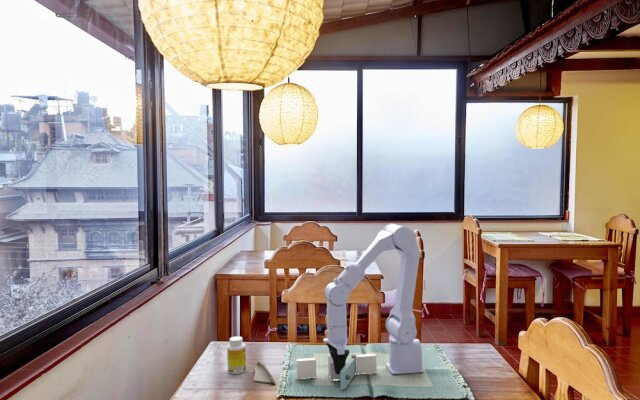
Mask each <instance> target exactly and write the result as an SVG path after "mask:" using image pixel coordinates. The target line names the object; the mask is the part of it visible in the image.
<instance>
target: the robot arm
mask: <svg viewBox="0 0 640 400" xmlns="http://www.w3.org/2000/svg"><path fill="white" fill-rule="evenodd" d="M391 250H392V251H393V250H396V251H397V253H398V254H399V255H400V263H399V271H398V276H397V277H398V279H397V284H396V285H397V286H396V292H395V299H394V306H393V307H392V308H391V309H390V312H389V316H388V317H387V319H386V320H385V329H386V330H387V332H388V333H389V337H388V347H389V348H388V349H389V351H388V354H389V357H388V359H389V362H385V366H387V368H388V370H389V372H390V374H392V375H402V374H413V373H414V374H415V373H423V371H424V370H423V352H422V351H423V350H422V345H421V341H420V339H419V338H416V337H417V333H418V331H417V327H416V317H415V313H414V311H413V307H414V306H413V305H414V299H415V291H416V284H417V278H418V271H419V270H418V269H419V263H420V255H421V251H420V248H419V245H418V242H417V235H416V233H415V232H414V231H413V230H412V229H411V228H409V227H408V226H405V225H404V226H403V225H398V224H396V223H388V224H387V225H385V226H384V227H383V229H382V230H380V231H379V232H378V233H377V235H376V237H375V238H374V239H373V241H372V242H371V244H370V245H369V246H368V247H367V248H366V249H365V251H364V252H363V254H362V255H361V256H360V257H359V259H357V261H356V262H350V263H349V264H345V265H344V267H343V270H342V271H341V272H340V274H339V275H338V276H337V277H335V278H334V279H333V281H332V282H330V283H328V284H327V285H326V287H325V288H324V289H325V290H324V291H323V295H324V297H325V298H326V329H327V338H326V337H325V338H323V343H324V344H326V346H327V348H328V351H329V354H330V357H332V359H333V363H334V369H335V372H336V374H340V371H341V370H342V369H343V367H344V366H345V362H346V361H347V359H348V356H349V355H350V350H349V349H345V347H346V345H348V341H349V339H348V325H347V323H348V322H347V303H348V301H349V298H350V294H351V292H352V291H353V290H354V289H355V288H356V287H357V286H358V285H359V284H360V282H361V281H363V279H364V278H365V276H366V270H367V269H368V267H370V266H371V264H373V263H374V261H376V259H377V258H378V257H380V255H382V253H383V252H385V251H391ZM346 363H347V362H346Z"/></svg>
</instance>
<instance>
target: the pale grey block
mask: <svg viewBox="0 0 640 400" xmlns="http://www.w3.org/2000/svg"><path fill="white" fill-rule="evenodd" d="M327 363H328V364H327V366H328V370H327V371H328V373H329V374H328V377H329V376H330V378H329V380H330V379H331V380H333V379H340V374H336V372H335V369H334V363H333V359H332V357H331V356H328V358H327ZM346 363H347V362H345V365H346Z"/></svg>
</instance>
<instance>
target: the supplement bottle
mask: <svg viewBox="0 0 640 400" xmlns="http://www.w3.org/2000/svg"><path fill="white" fill-rule="evenodd" d="M243 341H244V339H243V337H242V336H237V335H236V336H231V337H230V338H229V343H228V344H227V345H226V355H227V356H226V360H227V372H228V373H229V374H232V375H239V374H242V373H244V372H245V371H246V369H247V358H246V353H247V352H246V344H245V343H244V342H243Z"/></svg>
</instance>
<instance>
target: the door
mask: <svg viewBox="0 0 640 400" xmlns="http://www.w3.org/2000/svg"><path fill="white" fill-rule="evenodd" d="M354 375H355V358H349V359H348V361H347V362H346V365H345V366H344V367H343V369H342V370H341V371H340V381H339V382H340V390H343V389H345V388H346V389H347V388H348V386H349V384H350V383H351V381H352V380H353V379H354V377H355V376H356V375H355V376H354ZM353 376H354V377H353ZM352 378H353V379H352ZM351 379H352V380H351ZM349 382H350V383H349ZM347 385H348V386H347ZM346 389H345V390H346Z"/></svg>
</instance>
